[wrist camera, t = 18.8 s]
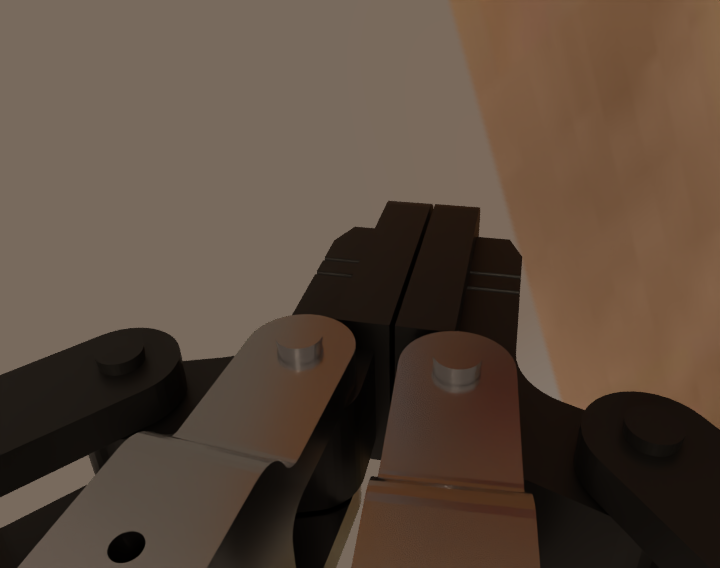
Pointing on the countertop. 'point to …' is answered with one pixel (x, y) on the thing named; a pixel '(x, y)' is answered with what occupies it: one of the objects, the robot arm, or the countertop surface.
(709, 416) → the countertop surface
